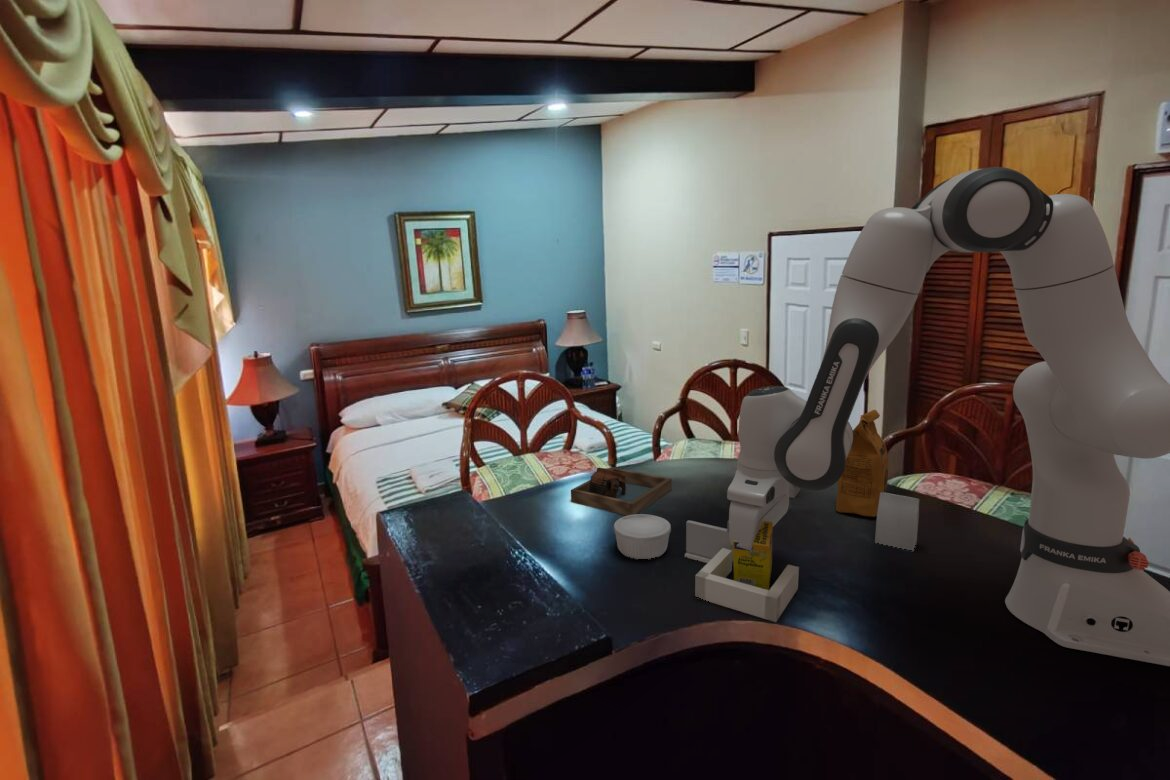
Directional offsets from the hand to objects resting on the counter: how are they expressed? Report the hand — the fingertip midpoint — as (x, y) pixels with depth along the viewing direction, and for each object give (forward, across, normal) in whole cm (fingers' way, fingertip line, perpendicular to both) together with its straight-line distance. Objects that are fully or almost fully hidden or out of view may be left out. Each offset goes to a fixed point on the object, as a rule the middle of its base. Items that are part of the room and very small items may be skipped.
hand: (760, 552), depth 107 cm
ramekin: (+5, +3, -23) cm, 23 cm away
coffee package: (+4, -41, +9) cm, 42 cm away
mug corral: (+4, -19, -41) cm, 45 cm away
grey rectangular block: (+4, -26, +18) cm, 32 cm away
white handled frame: (+4, +6, -3) cm, 8 cm away
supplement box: (+4, +3, 0) cm, 5 cm away
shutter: (+3, 0, -10) cm, 10 cm away
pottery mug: (+5, -16, -43) cm, 47 cm away
